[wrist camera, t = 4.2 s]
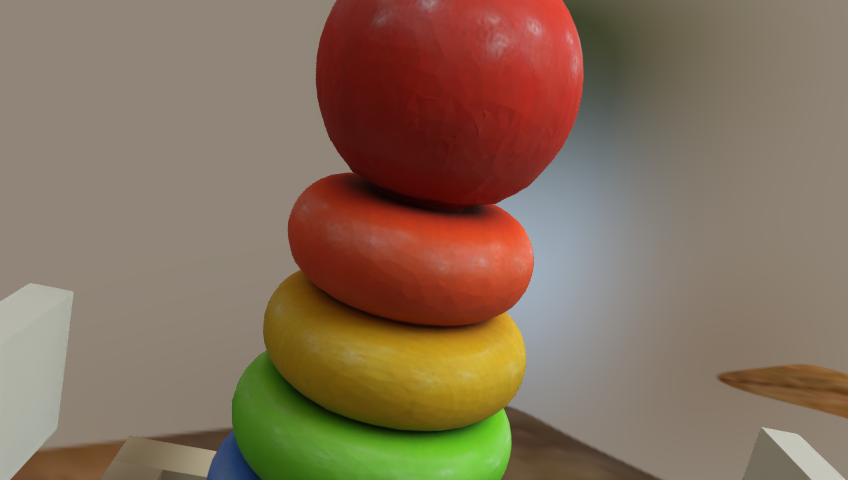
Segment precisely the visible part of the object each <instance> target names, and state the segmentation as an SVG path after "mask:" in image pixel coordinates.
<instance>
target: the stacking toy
mask: <svg viewBox="0 0 848 480" xmlns="http://www.w3.org/2000/svg"><path fill="white" fill-rule="evenodd" d="M582 59H583V58H582V50H581V45H580V39H579V36H578V33H577V30H576V27H575V25H574V22H573V20H572V17H571V15H570V13H569V11H568V9H567V8H566V6H565V4H564V2H563V1H562V0H337V1H336V2H335V4H334V6H333V7H332V10H331V12H330V14H329V17H328V19H327V21H326V23H325V26H324V29H323V32H322V35H321V38H320V43H319V48H318V53H317V63H316V87H317V98H318V102H319V107H320V110H321V114H322V117H323V120H324V124H325V127H326V130H327V133H328V135H329V138H330V140H331V141H332V143H333V144H334V146H335V148H336V149H337V151H338V153H339V154H340V155H341V157H342V158H343V159H344V161H345V162H346V163H347V164H348V165H349V167H350V169H351V170H352V172H354V173H342V174H335V175H330V176H328V177H325V178H322V179H320V180H318V181H317V182H315V183H313V184H312V185H311V186H309V187H308V188H307V189H306V190H305V191H304V192H303V193H302V194H301V195H300V196H299V198H298V199H297V201H296V203H295V204H294V207H293V209H292V211H291V215H290V218H289V221H288V238H289V243H290V248H291V252H292V256H293V258H294V260H295V262H296V263H297V265H298V266H299V268H300V269H301V270H299V271H297V272H296V273H294V274H292V275H290V276H289V277H288V278H287V279H285V280H284V281H283V282H282V283H281V284H280V285H279V287H278V288H277V289H276V291H275V292H274V293H273V295H272V297H271V299H270V301H269V303H268V306H267V309H266V312H265V316H264V328H263V334H264V342H265V345H266V349H267V350H266V351H265V352H263V353H262V354H261V355H259V356H258V357H257V358H256V359H255V360H254V361H253V362H252V363H251V364H250V365H249V366H248V368H247V369H246V370H245V372H244V373H243V375H242V376H241V378H240V380H239V382H238V384H237V387H236V391H235V394H234V397H233V400H232V424H233V431H232V432H231V433H230V434H229V435H228V436H227V438H226V439H225V440H224V441H223V443H222V444H221V446H220V447H219V449H218V451H217V452H216V454H215V456H214V458H213V459H212V462H211V465H210V468H209V471H208V475H207V480H501V478H502V476H503V474H504V472H505V470H506V467H507V464H508V461H509V457H510V452H511V432H510V425H509V421H508V419H507V416H506V413H505V411H504V409H503V408H504V407H505V406H507V404H508V403H509V402H510V401H511V400H512V399H513V397H514V396H515V395H516V393H517V391H518V389H519V387H520V385H521V384H522V380H523V376H524V372H525V368H526V352H525V346H524V342H523V338H522V336H521V333H520V331H519V329H518V327H517V326H516V324H515V323H514V321H513V320H512V318H511V317H510V316H509V315H508V314H507V313H506V311H507V310H509V309H510V308H512V307H513V306H514V305H515V304H516V303H517V302H518V301H519V299H520V298H521V296H522V295H523V294H524V292H525V291H526V289H527V287H528V285H529V282H530V279H531V276H532V272H533V266H534V256H533V249H532V245H531V242H530V239H529V237H528V235H527V233H526V231H525V230H524V228H523V227H522V226H521V224H520V223H519V222H518V221H517V220H516V219H514V218H513V217H512V216H511V215H510V214H508V213H507V212H506V211H504V210H503V209H501V208H500V207H498V206H496V205H493V204H496V203H498V202H500V201H501V200H503V199H505V198H507V197H510V196H512V195H514V194H516V193H518V192H519V191H521V190H522V189H524V188H526V187H528V186H529V185H530V184H531V183H532V182H533V181H534V180H535V179H536V178H537V177H538V176H539V175H540V174H541V173H542V172H543V170H544V169H545V168H546V167H547V166H548V165H549V164H550V163H551V161H552V160H553V159H554V158H555V156H556V155H557V153H558V152H559V151H560V149H561V148H562V146H563V145H564V143H565V140H566V139H567V138H568V135H569V133H570V131H571V129H572V127H573V124H574V121H575V119H576V116H577V113H578V109H579V105H580V100H581V96H582V86H583V60H582Z"/></svg>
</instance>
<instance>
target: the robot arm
mask: <svg viewBox="0 0 848 480" xmlns="http://www.w3.org/2000/svg"><path fill="white" fill-rule="evenodd" d="M72 300H73V291H68V290H63V289H58V288H53V287H48V286H43V285H38V284H32V283H30V284H28V285H26V286H25V287H23V288H21V289H20V290H18V291H17V292H15V293H13V294H12V295H10V296H9V297H7V298H5V299H4V300H2V301H1V302H0V480H10V479H11V478H12V477H13V476H14V475H15V474H16V473H17V472H18V471H19V470H20V468H21V467H22V466H23V465H24V464H25V463H26V462H27V461H28V460H29V459H30V458H31V457H32V455H33V454H34V453H35V452H36V451H37V450H38V449H39V448H40V447H41V446H42V444H43V443H44V442H45V441H46V440H47V439H48V438H49V437H50V436H51V435H52V434H53V433H54V431H55V430H56V429H57V426H58V418H59V410H60V401H61V393H62V385H63V376H64V368H65V359H66V351H67V343H68V334H69V325H70V317H71V309H72ZM742 480H845V479H844V478H843V477H842V476H841V475H840V474H839V473H838V472H837V471H836V470H835V469H834V468H833V467H831V466H830V464H829V463H827V462H826V461H825V460H824V459H823V458H822V457H821V456H820V455H819V454H818V453H817V452H816V451H815V450H814V449H813V448H812V447H811V446H810V445H809V444H808V443H807V442H806V441H805V440H804V439H803V438H802V437H801V436H800V435H798V434H794V433H789V432H784V431H778V430H774V429H768V428H763V427H761V430H760V432H759V435H758V438H757V441H756V443H755V446H754V449H753V452H752V455H751V457H750V460H749V463H748V466H747V468H746V471H745V474H744V477H743V479H742Z"/></svg>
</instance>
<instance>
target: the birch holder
mask: <svg viewBox="0 0 848 480" xmlns="http://www.w3.org/2000/svg"><path fill="white" fill-rule="evenodd" d="M215 454H216V451H211V450H205V449H199V448H194V447H188V446H183V445H177V444H171V443H166V442H160V441H155V440H149V439H143V438H138V437H132V436H129V438H128V439H127V441H126V442H125V443H124V445H123V446H122V448H121V449H120V451H119V452H118V454H117V455H116V456H115V458H114V459H113V461H112V462H111V464H110V465H109V466H108V468H107V469H106V471H105V472H104V474H103V475H102V477H101V478H100V479H99V480H207V475H208V471H209V468H210V465H211V462H212V459H213V458H214V456H215Z"/></svg>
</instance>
